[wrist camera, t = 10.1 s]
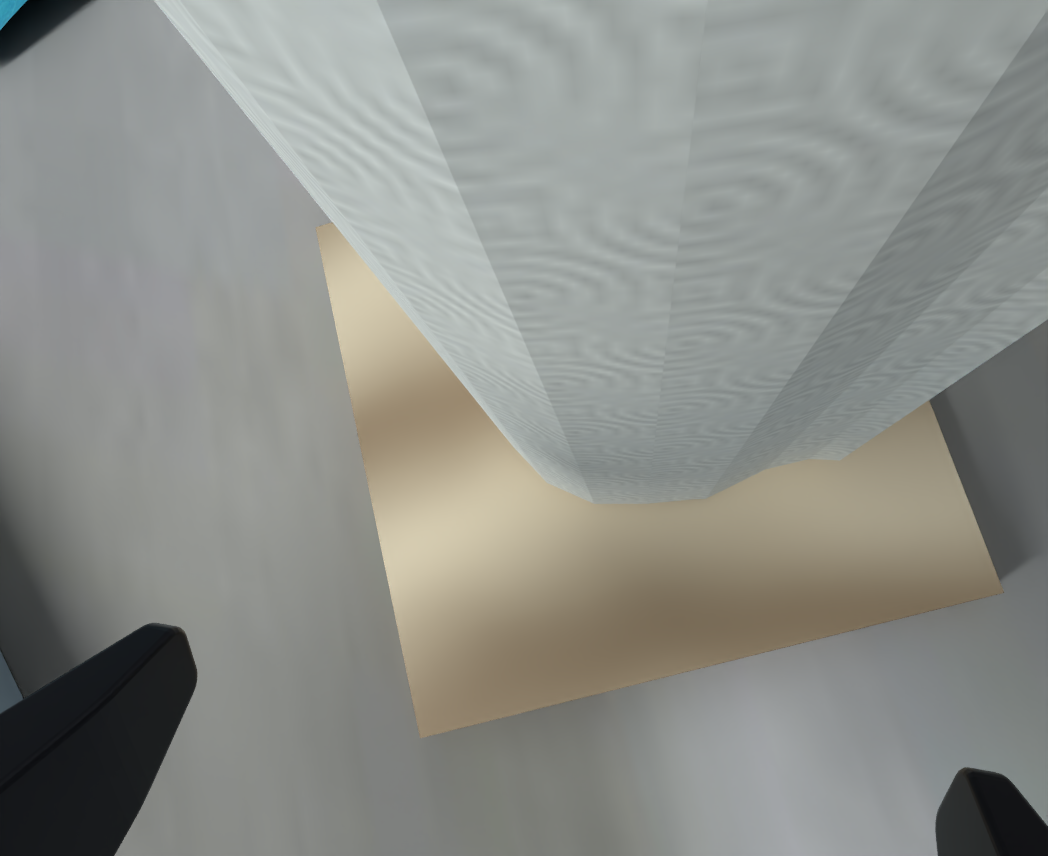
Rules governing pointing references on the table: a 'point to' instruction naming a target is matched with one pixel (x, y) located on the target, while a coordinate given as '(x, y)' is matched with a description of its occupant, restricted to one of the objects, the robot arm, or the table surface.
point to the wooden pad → (620, 540)
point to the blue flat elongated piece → (9, 10)
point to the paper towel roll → (670, 207)
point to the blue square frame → (7, 687)
